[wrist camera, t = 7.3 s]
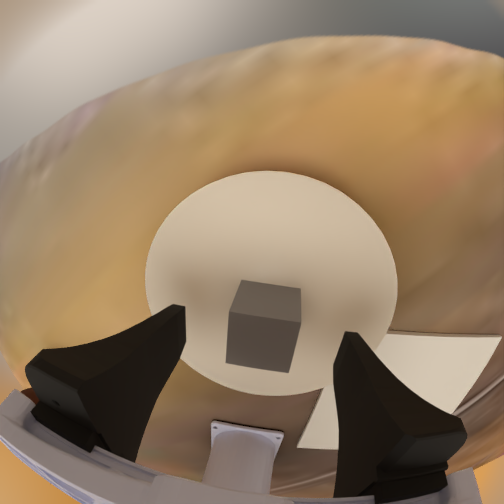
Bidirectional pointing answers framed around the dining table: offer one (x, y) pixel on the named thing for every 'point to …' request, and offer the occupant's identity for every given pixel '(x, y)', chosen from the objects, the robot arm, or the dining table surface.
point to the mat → (412, 376)
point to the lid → (271, 280)
